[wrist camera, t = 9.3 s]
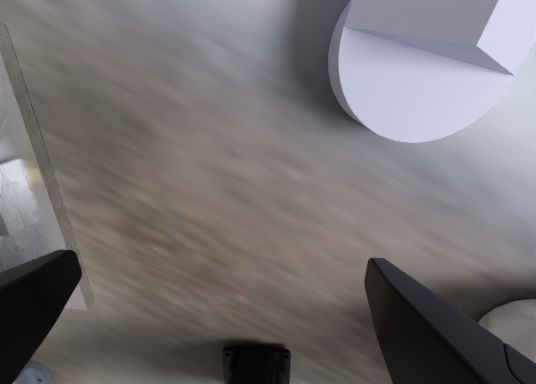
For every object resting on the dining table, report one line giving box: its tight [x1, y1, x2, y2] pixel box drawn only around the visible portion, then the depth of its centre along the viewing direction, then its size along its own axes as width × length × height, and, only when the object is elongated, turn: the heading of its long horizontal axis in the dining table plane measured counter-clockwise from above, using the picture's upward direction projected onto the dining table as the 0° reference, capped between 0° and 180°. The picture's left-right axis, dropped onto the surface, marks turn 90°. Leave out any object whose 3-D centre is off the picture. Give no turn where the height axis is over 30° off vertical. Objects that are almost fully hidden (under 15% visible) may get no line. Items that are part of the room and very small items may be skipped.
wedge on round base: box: [328, 0, 536, 143], centre depth 13 cm, size 9×7×13 cm
